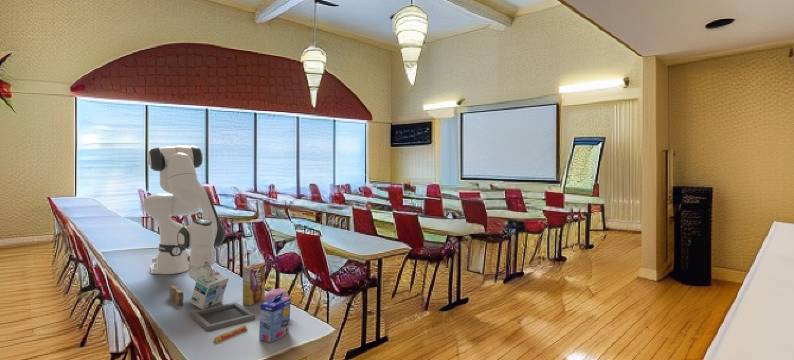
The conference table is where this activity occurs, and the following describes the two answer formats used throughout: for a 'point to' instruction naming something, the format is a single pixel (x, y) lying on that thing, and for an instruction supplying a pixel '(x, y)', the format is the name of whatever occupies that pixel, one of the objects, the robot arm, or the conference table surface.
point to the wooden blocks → (176, 295)
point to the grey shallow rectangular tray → (222, 316)
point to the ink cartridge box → (274, 318)
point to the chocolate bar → (230, 334)
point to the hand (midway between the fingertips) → (201, 293)
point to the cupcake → (275, 294)
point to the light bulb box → (209, 291)
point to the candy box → (253, 283)
